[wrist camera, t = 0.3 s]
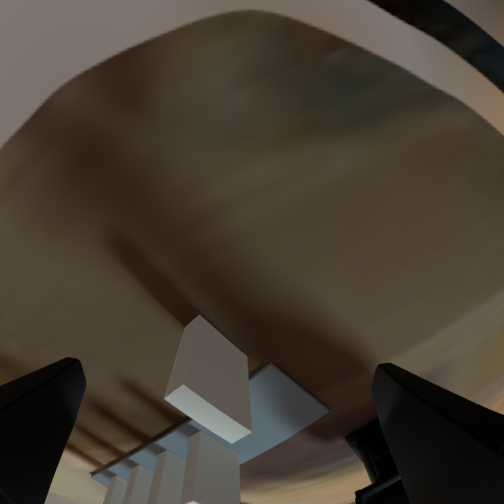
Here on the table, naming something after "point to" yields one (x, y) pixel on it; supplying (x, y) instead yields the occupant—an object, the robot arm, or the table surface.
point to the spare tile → (211, 381)
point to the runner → (258, 441)
